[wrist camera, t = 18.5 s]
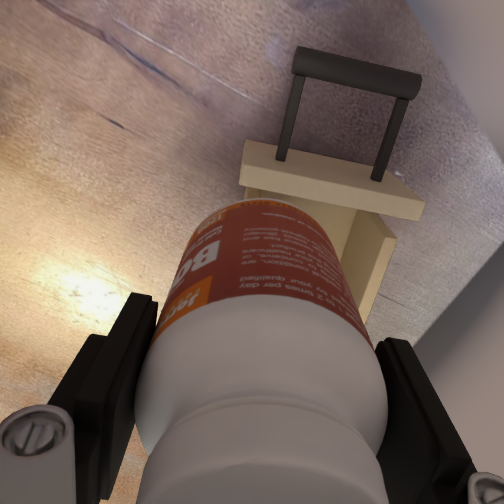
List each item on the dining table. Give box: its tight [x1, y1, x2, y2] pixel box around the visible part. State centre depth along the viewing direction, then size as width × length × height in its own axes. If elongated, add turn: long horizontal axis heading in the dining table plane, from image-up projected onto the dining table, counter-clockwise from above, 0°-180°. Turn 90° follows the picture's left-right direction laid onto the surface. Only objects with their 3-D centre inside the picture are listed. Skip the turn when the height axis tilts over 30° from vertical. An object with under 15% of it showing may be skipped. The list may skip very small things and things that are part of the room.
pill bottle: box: [134, 198, 389, 504], centre depth 12 cm, size 6×6×11 cm
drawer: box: [239, 46, 426, 326], centre depth 27 cm, size 19×10×8 cm, turn 168°
